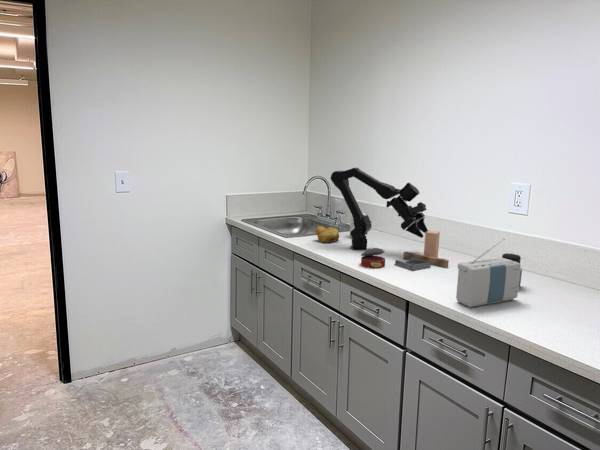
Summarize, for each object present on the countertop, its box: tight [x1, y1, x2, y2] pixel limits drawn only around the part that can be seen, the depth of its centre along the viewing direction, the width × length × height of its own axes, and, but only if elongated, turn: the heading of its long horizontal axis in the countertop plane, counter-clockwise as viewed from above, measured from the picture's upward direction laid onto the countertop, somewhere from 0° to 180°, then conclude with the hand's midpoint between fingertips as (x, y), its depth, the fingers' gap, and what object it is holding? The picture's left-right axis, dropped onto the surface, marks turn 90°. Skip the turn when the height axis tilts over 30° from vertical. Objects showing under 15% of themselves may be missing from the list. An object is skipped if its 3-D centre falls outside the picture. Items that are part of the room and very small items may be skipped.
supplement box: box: [349, 212, 366, 240], centre depth 247 cm, size 7×7×13 cm
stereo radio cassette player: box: [455, 238, 522, 308], centre depth 153 cm, size 21×8×20 cm, turn 115°
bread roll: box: [315, 225, 340, 244], centre depth 238 cm, size 13×10×8 cm
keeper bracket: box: [393, 257, 432, 271], centre depth 195 cm, size 10×10×2 cm
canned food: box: [360, 247, 386, 269], centre depth 195 cm, size 11×10×10 cm
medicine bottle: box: [501, 252, 523, 288], centre depth 170 cm, size 7×7×12 cm
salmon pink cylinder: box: [423, 229, 441, 258], centre depth 207 cm, size 5×5×12 cm
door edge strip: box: [402, 250, 450, 269], centre depth 201 cm, size 20×2×3 cm, turn 47°
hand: (425, 235), depth 208 cm, fingers open, 9 cm apart
